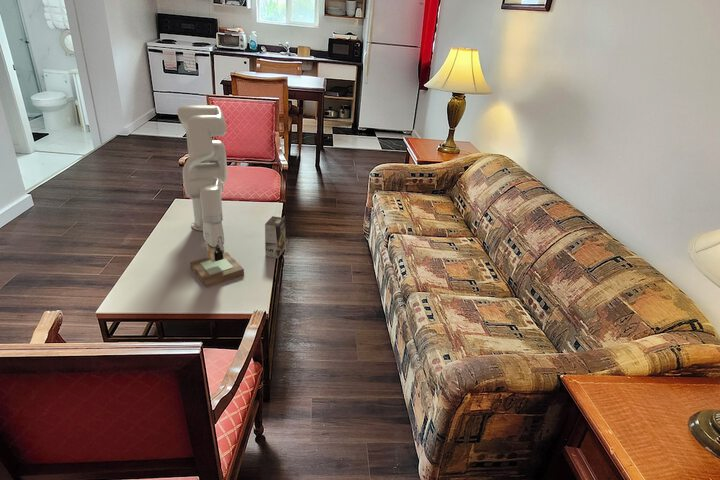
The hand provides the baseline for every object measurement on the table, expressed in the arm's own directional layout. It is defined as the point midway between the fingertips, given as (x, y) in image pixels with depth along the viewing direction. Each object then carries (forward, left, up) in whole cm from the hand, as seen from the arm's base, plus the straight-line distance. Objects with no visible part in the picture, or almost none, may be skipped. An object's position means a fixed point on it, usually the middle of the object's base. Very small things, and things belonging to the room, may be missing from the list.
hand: (216, 256), depth 173 cm
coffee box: (-1, +28, -8) cm, 29 cm away
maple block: (0, 0, -1) cm, 1 cm away
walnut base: (0, 0, -8) cm, 8 cm away
